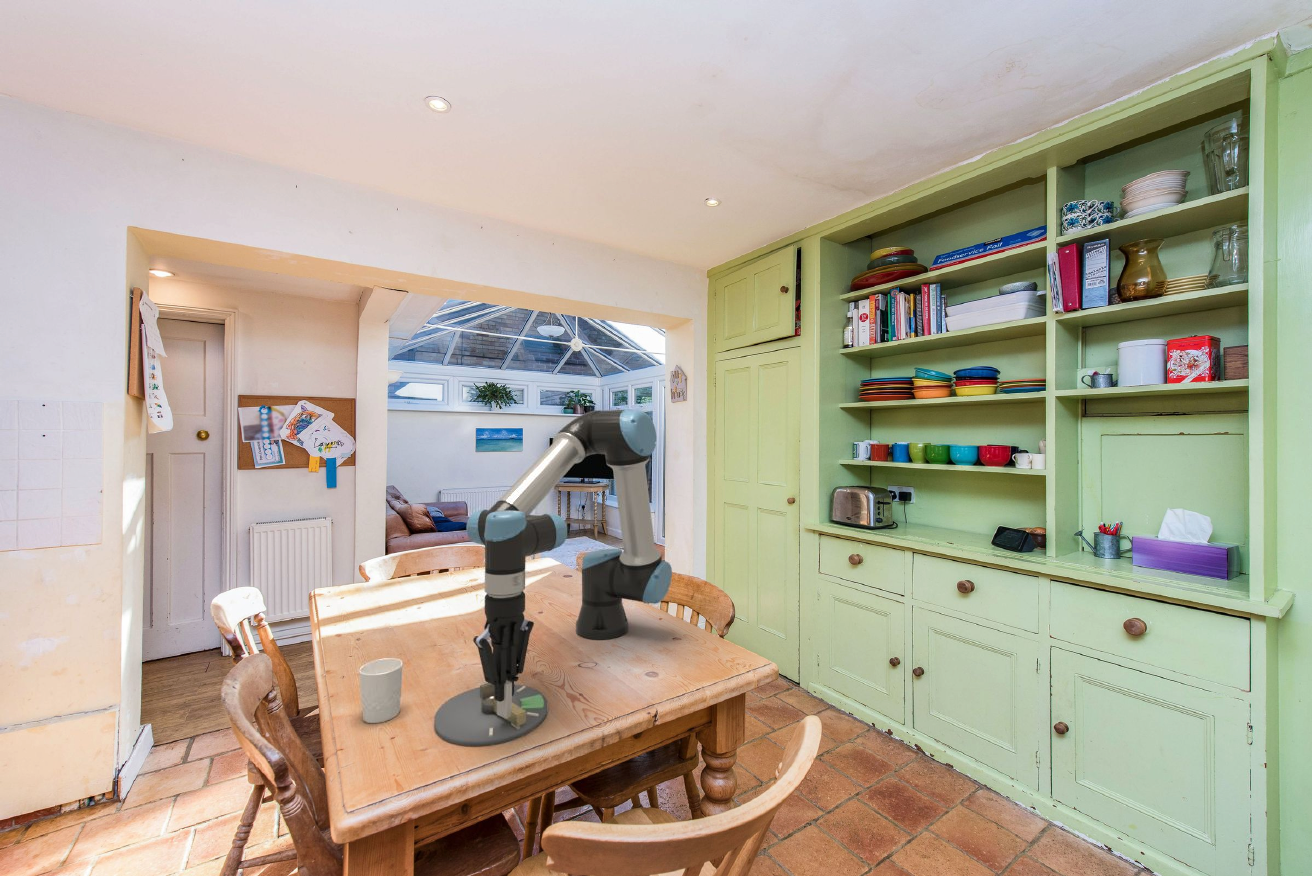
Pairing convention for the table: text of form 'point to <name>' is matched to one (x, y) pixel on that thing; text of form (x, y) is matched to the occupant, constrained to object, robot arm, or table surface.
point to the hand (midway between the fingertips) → (504, 715)
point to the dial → (487, 718)
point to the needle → (491, 705)
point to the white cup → (380, 689)
